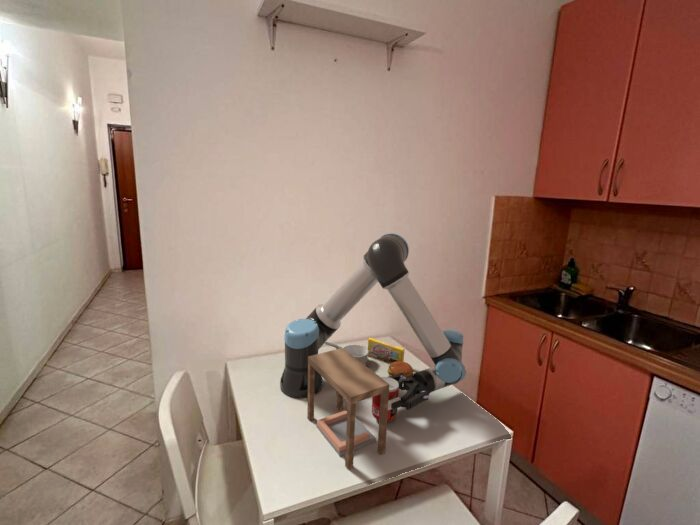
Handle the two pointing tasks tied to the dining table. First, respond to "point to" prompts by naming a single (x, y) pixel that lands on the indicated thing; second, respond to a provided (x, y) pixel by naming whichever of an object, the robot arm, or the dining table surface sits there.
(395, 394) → the canned food
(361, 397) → the bench
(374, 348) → the candy box
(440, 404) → the dining table surface
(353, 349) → the saucepan
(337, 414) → the seat
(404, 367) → the burger
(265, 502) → the dining table surface
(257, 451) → the dining table surface
